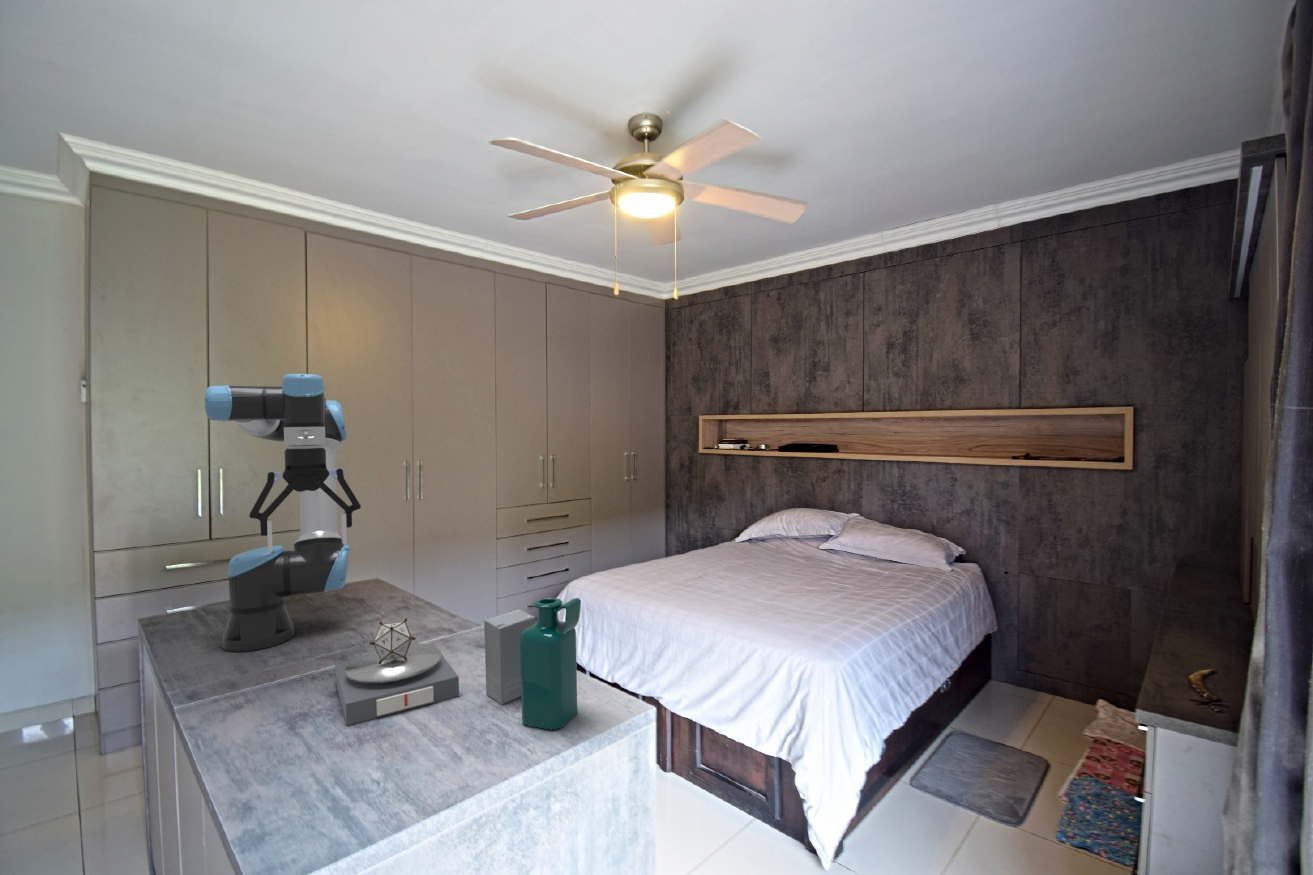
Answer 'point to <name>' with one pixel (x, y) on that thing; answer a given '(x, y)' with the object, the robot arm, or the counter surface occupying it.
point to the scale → (394, 692)
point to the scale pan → (393, 665)
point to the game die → (392, 641)
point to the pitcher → (549, 665)
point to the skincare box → (504, 654)
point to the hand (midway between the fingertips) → (308, 546)
